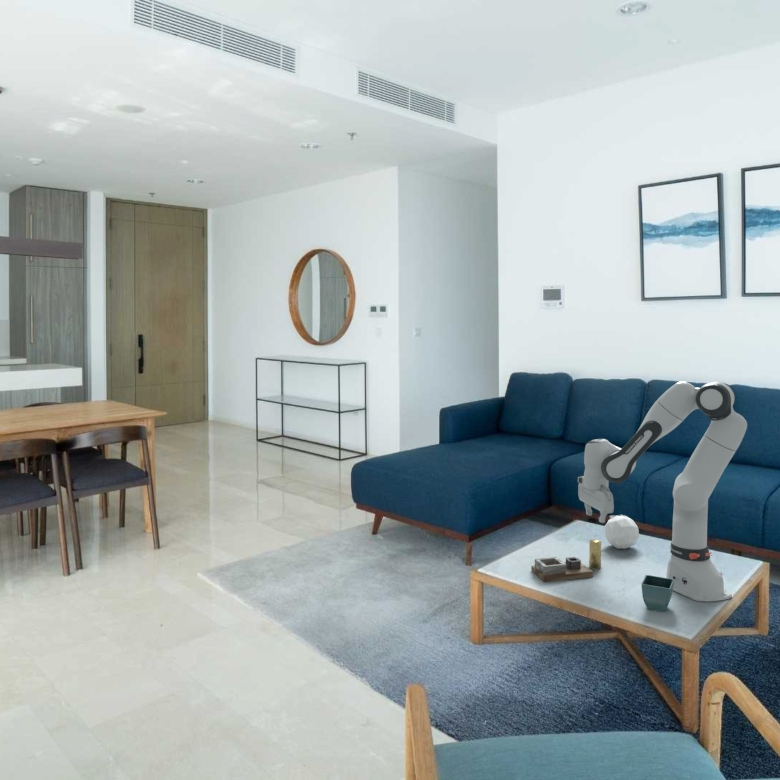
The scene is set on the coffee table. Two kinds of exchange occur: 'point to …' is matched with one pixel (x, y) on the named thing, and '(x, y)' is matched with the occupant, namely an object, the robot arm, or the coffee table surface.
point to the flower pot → (657, 592)
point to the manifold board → (560, 569)
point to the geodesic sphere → (621, 531)
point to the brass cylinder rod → (595, 554)
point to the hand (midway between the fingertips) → (595, 518)
